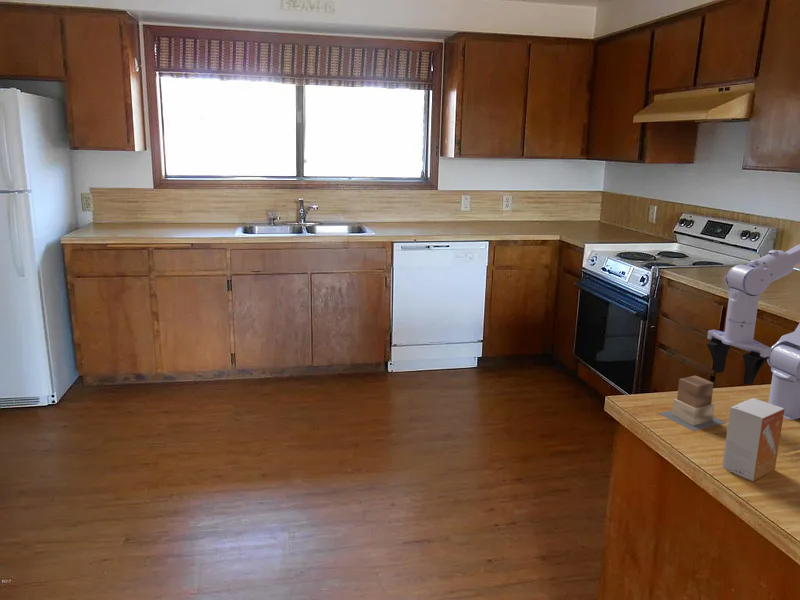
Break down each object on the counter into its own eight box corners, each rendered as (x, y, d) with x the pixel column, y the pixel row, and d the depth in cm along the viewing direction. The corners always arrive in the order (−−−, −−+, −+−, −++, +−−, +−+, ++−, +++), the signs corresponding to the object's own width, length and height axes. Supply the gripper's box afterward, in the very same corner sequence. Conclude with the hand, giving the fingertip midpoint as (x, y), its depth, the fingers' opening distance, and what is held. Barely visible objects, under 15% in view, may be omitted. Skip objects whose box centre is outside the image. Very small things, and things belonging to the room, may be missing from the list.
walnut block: (693, 395, 147) (695, 375, 146) (711, 403, 143) (713, 382, 142) (677, 399, 145) (679, 378, 144) (694, 407, 141) (697, 386, 140)
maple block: (691, 410, 149) (692, 394, 148) (712, 420, 143) (714, 404, 142) (671, 415, 146) (673, 398, 146) (692, 425, 141) (694, 408, 140)
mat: (690, 407, 151) (690, 405, 151) (726, 424, 143) (726, 422, 142) (658, 414, 148) (658, 413, 148) (693, 432, 139) (693, 430, 139)
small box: (753, 482, 119) (762, 418, 115) (721, 468, 124) (729, 406, 121) (776, 470, 123) (785, 407, 120) (743, 457, 128) (752, 396, 125)
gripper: (700, 313, 145) (694, 369, 148) (757, 330, 132) (749, 391, 135) (722, 310, 147) (716, 365, 151) (781, 326, 134) (772, 386, 138)
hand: (733, 377), depth 143 cm, fingers open, 7 cm apart
